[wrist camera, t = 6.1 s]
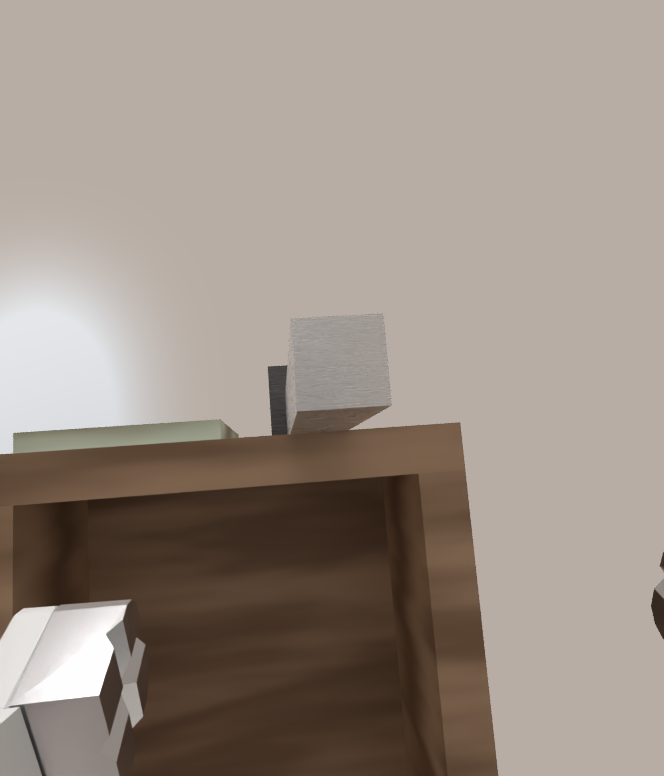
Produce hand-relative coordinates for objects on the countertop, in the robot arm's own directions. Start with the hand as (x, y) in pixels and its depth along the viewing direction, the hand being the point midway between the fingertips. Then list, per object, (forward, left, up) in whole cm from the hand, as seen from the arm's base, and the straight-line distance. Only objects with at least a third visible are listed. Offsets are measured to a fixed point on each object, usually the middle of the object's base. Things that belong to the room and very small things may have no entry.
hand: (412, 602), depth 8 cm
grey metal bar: (+12, -10, +4) cm, 15 cm away
